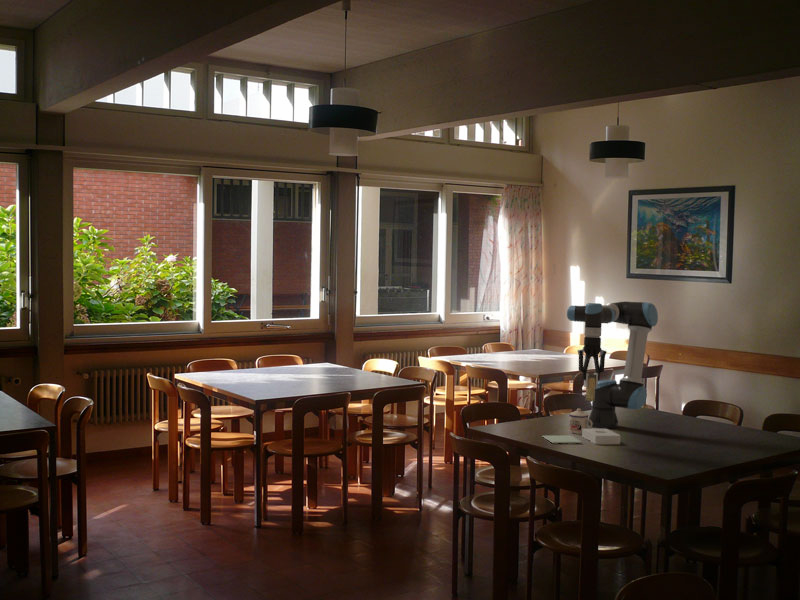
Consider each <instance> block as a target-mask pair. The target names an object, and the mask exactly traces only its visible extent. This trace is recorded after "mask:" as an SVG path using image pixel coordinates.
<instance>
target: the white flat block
mask: <svg viewBox="0 0 800 600" xmlns="http://www.w3.org/2000/svg"><path fill="white" fill-rule="evenodd" d="M581 437H582V438H583V437H584V438H583V439H585V438H586V439H588V440H590V441H591V442H590V441H589V442H590V443H592V442H593V443H592V444H594V443H595V444H594V445H621V434H618V433H616V432H614V431H612V430H611V429H609V428H591V429H582V434H581ZM586 439H585V440H586ZM588 440H587V441H588Z"/></svg>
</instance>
